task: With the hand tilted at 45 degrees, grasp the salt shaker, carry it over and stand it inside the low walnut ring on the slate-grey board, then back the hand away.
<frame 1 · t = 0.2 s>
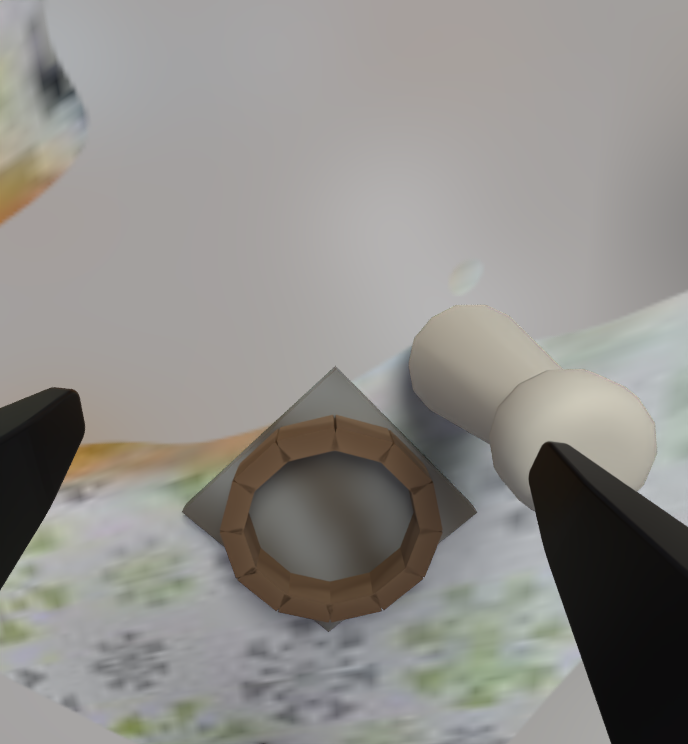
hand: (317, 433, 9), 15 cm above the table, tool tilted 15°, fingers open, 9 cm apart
salt shaker: (453, 351, 25), on the table
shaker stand: (331, 504, 26), on the table
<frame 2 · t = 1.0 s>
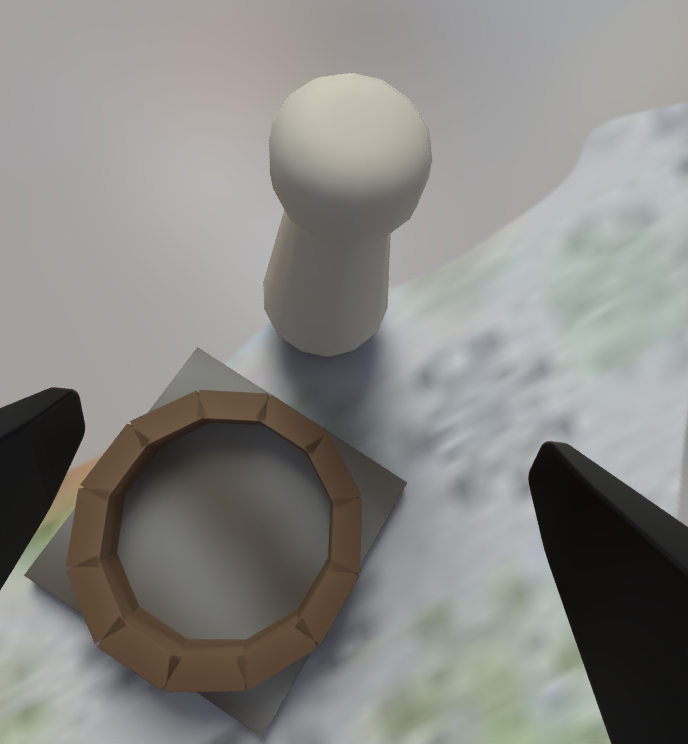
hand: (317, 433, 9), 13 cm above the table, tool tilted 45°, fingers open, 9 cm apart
salt shaker: (323, 314, 24), on the table
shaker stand: (229, 524, 21), on the table
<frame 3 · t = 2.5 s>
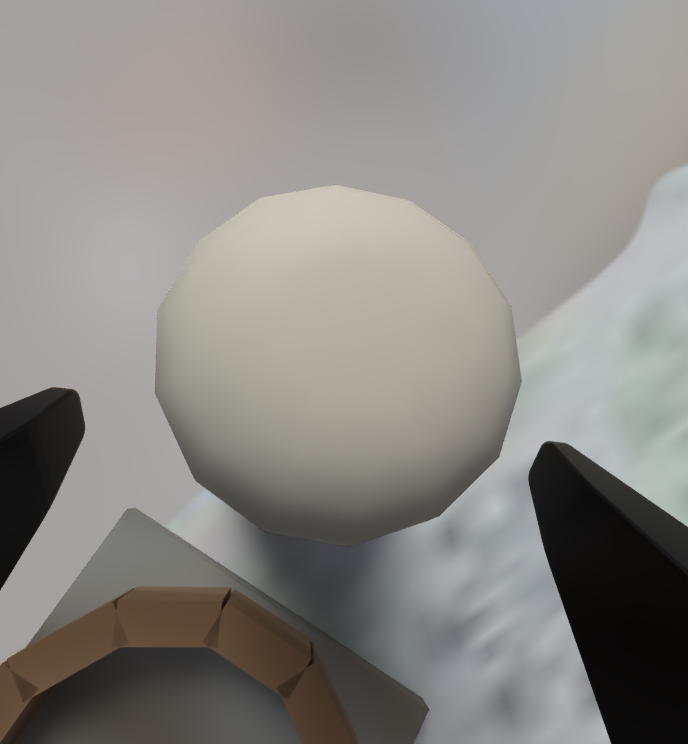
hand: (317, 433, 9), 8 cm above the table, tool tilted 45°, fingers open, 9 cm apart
salt shaker: (308, 444, 17), on the table
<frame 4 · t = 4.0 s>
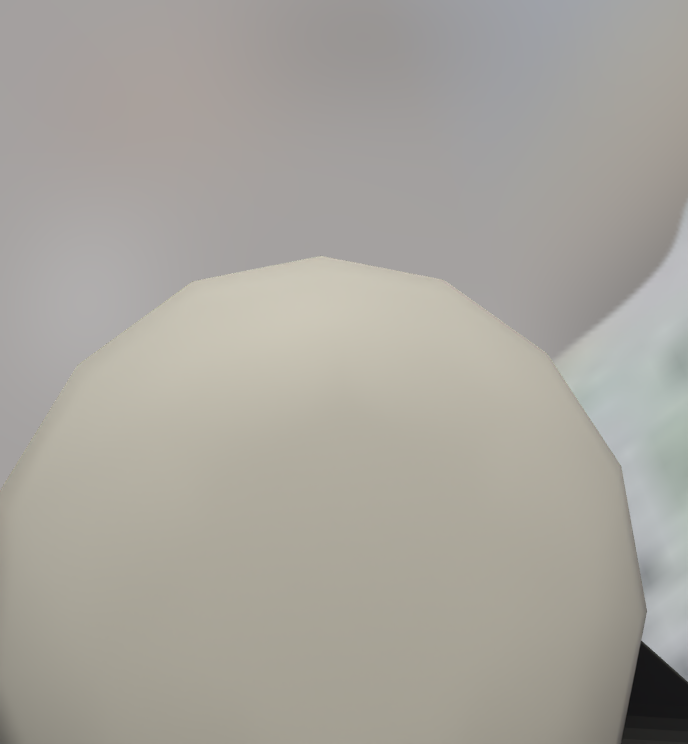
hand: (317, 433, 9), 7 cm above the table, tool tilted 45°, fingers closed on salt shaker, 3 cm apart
salt shaker: (303, 496, 15), on the table, touching gripper
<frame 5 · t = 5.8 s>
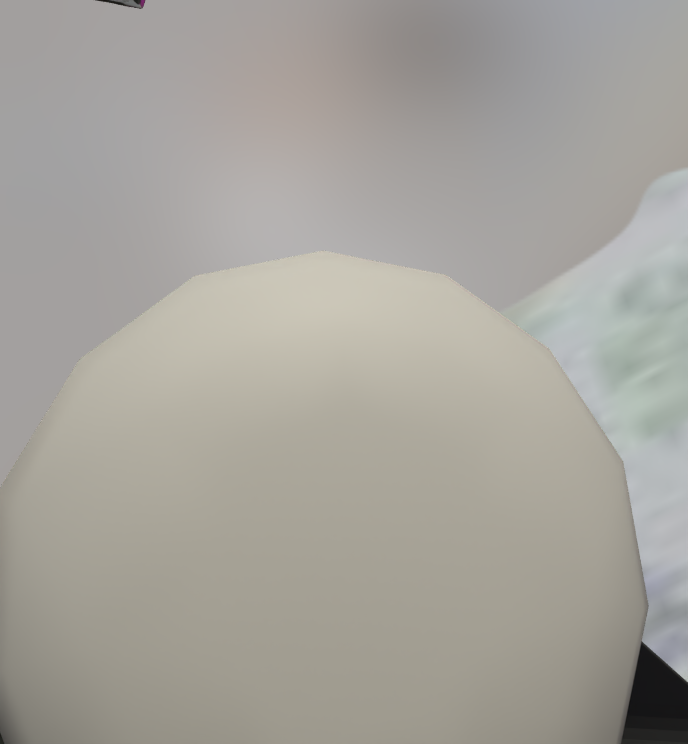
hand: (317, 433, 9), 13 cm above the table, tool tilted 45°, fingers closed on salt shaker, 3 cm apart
salt shaker: (303, 494, 15), point 7 cm above the table, touching gripper
when the fingers open (8 cm above the table, at t = 7.6 s): salt shaker drops 1 cm, resting on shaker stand.
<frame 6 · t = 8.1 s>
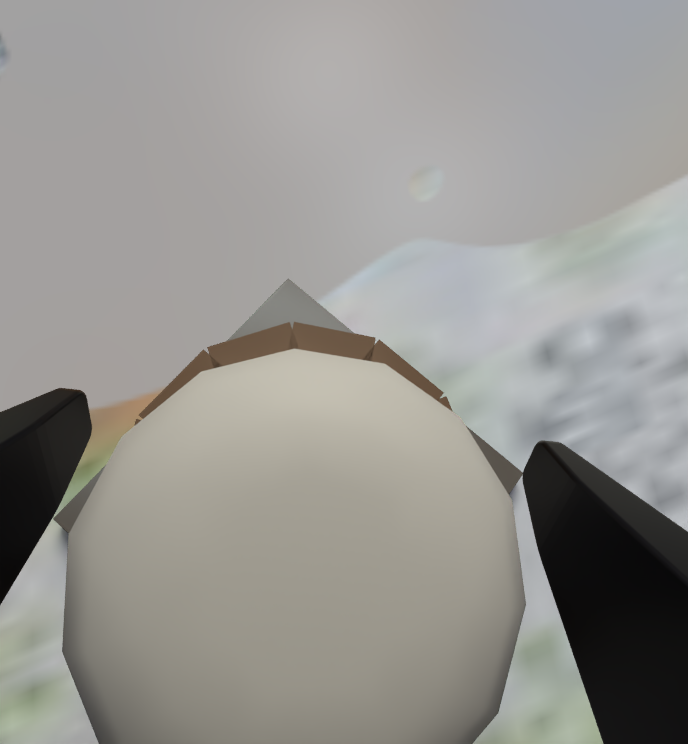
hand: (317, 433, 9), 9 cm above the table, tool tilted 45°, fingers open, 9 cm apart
salt shaker: (300, 501, 16), point 1 cm above the table, touching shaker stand
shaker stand: (302, 494, 17), on the table
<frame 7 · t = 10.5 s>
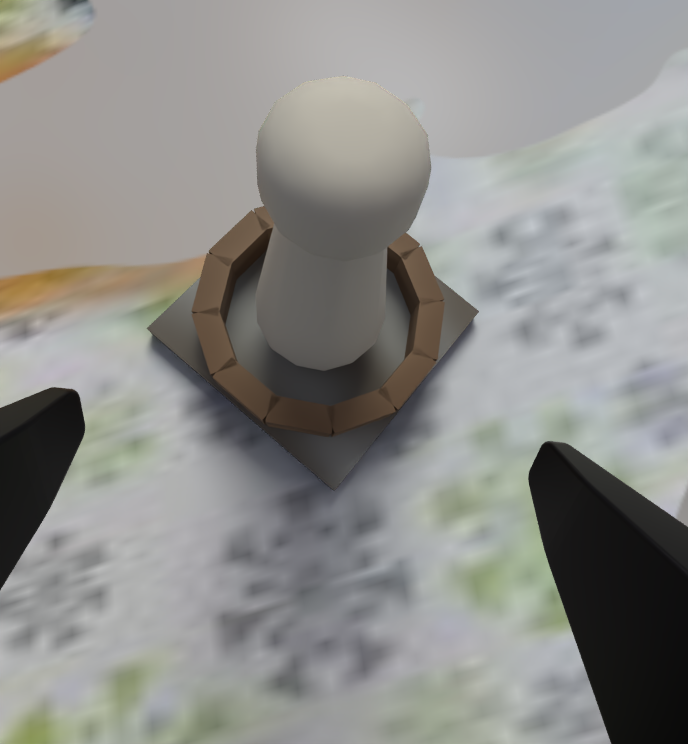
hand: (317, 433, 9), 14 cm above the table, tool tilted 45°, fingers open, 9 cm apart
salt shaker: (318, 325, 23), point 1 cm above the table, touching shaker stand
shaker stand: (319, 324, 24), on the table
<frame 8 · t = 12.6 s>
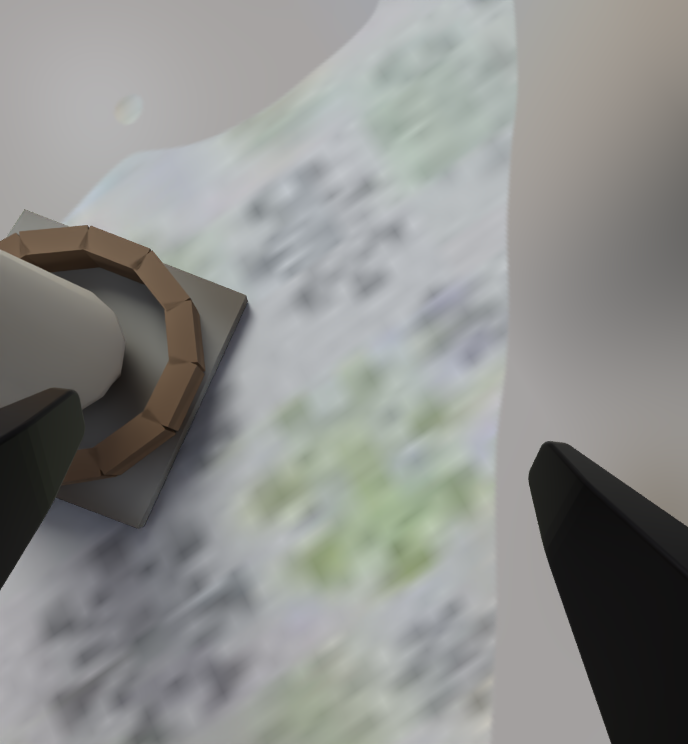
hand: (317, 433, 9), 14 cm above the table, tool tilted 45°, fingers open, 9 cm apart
salt shaker: (78, 364, 21), point 1 cm above the table, touching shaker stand
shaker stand: (85, 362, 22), on the table
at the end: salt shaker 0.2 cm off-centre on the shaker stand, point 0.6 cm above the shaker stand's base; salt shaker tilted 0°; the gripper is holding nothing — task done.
